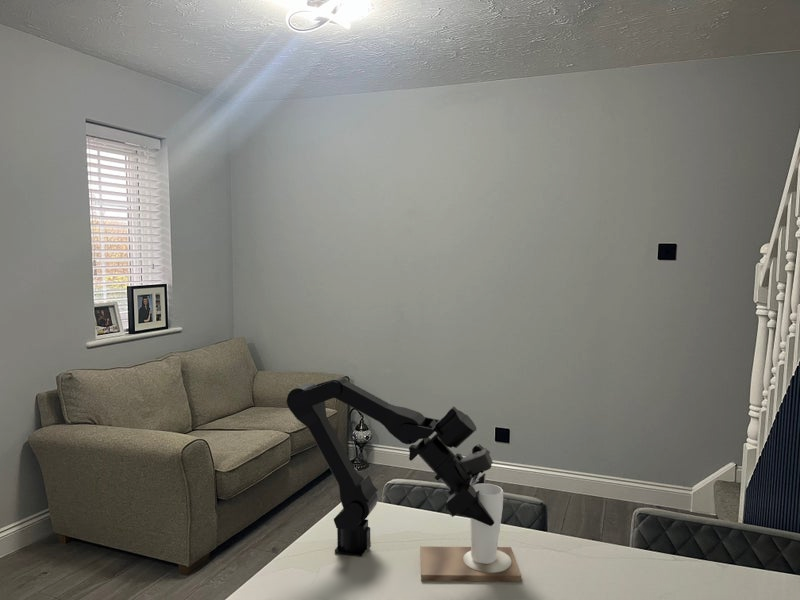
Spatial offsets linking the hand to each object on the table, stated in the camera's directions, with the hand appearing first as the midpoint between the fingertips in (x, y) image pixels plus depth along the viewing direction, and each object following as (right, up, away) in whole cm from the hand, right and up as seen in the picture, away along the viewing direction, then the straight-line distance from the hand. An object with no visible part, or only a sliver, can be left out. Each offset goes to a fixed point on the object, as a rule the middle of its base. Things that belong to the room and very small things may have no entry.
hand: (494, 517), depth 124 cm
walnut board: (-5, -11, +1) cm, 12 cm away
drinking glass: (-2, -9, +1) cm, 10 cm away
